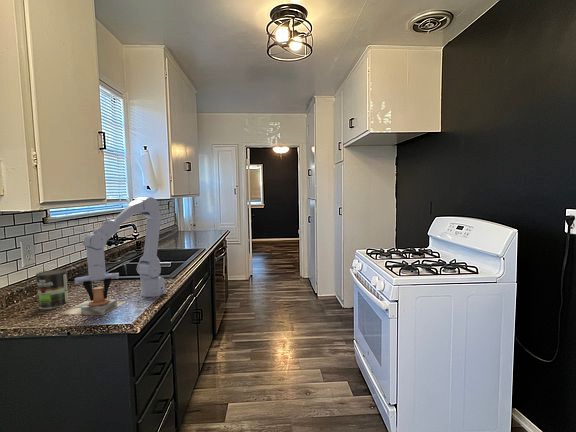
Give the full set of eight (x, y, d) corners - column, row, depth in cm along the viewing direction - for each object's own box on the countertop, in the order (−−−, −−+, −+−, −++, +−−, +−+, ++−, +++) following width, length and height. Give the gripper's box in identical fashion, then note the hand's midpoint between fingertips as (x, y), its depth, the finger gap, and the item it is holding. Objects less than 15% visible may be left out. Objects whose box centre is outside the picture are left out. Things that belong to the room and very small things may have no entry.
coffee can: (56, 309, 129) (53, 275, 128) (32, 309, 129) (29, 275, 128) (74, 300, 139) (72, 268, 138) (52, 300, 140) (49, 269, 138)
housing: (126, 304, 133) (125, 295, 132) (103, 317, 119) (102, 308, 118) (86, 303, 135) (85, 295, 134) (59, 316, 121) (58, 307, 120)
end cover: (113, 306, 127) (112, 285, 126) (101, 313, 120) (100, 291, 120) (97, 306, 128) (96, 285, 127) (85, 312, 121) (83, 291, 120)
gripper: (118, 260, 129) (120, 293, 131) (75, 264, 123) (78, 299, 124) (117, 263, 123) (119, 298, 124) (72, 268, 117) (75, 304, 118)
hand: (99, 298), depth 124 cm, fingers closed on end cover, 4 cm apart
